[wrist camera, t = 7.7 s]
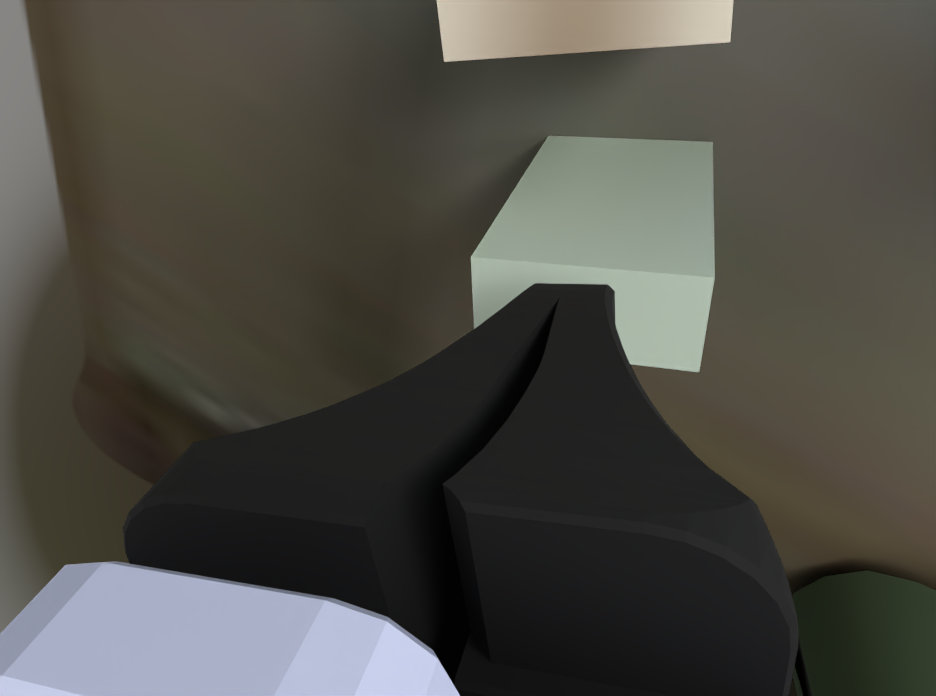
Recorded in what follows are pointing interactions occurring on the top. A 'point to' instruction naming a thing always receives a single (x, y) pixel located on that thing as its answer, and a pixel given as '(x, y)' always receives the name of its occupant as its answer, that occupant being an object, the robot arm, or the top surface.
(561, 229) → the end domino
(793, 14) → the top surface
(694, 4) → the domino
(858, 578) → the character mug
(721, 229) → the top surface
